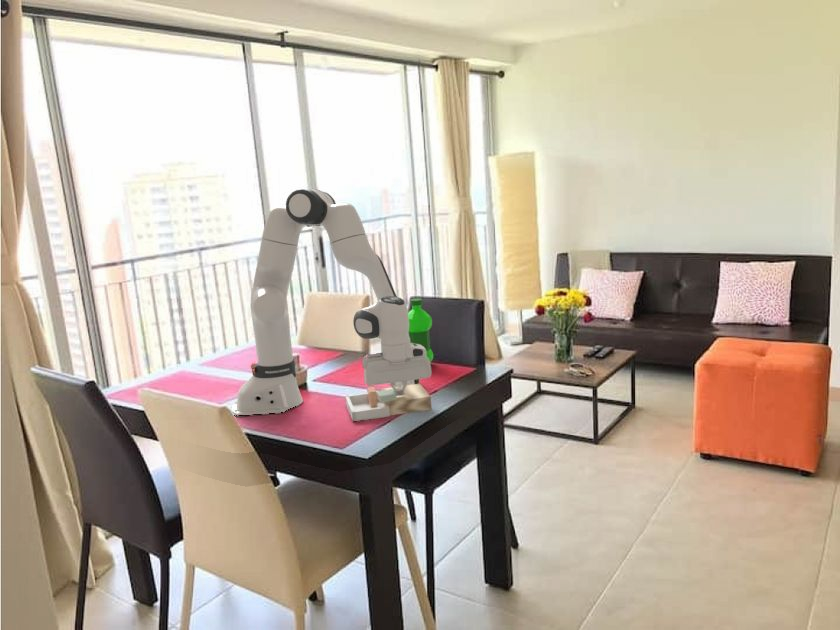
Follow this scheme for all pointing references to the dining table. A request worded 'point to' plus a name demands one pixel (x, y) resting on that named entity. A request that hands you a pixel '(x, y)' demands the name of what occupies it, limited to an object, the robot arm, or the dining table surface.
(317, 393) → the dining table surface
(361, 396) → the grey box
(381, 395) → the sage tile
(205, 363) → the dining table surface
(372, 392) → the terracotta tile
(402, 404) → the birch block
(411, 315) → the plastic bottle
